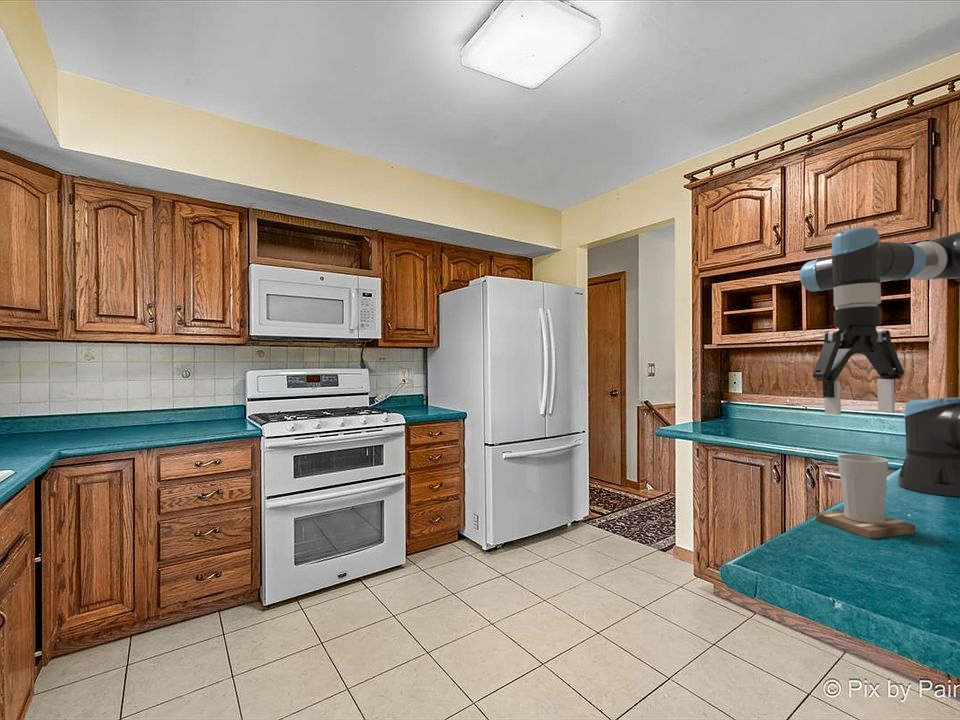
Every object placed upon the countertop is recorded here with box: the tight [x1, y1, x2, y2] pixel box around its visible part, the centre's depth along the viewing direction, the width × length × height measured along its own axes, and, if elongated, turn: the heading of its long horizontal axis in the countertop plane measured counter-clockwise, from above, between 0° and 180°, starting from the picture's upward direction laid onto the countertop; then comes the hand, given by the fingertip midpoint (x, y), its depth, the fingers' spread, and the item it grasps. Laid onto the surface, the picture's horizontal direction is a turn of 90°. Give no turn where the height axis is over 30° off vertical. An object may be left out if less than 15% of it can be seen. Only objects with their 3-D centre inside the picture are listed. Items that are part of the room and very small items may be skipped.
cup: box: [836, 453, 889, 523], centre depth 96 cm, size 8×8×12 cm
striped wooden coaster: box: [815, 509, 916, 540], centre depth 96 cm, size 11×11×2 cm
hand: (860, 412), depth 96 cm, fingers open, 13 cm apart
